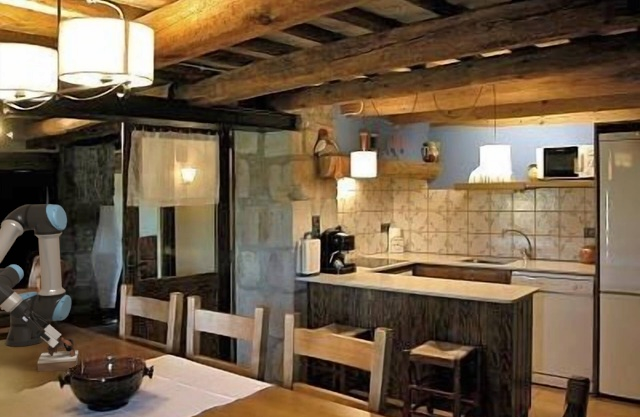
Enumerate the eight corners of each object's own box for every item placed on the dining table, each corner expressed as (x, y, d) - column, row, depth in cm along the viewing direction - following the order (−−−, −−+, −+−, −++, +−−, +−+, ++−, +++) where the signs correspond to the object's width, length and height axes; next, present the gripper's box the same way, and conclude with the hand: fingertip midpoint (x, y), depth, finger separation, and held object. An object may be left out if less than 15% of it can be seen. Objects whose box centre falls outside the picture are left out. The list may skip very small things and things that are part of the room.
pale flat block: (42, 362, 251) (42, 352, 251) (78, 359, 255) (78, 350, 255) (37, 372, 237) (37, 361, 237) (76, 368, 242) (76, 358, 242)
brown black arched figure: (71, 360, 241) (59, 343, 239) (52, 369, 243) (40, 353, 241) (84, 345, 253) (73, 329, 251) (65, 354, 254) (54, 338, 252)
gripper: (13, 307, 252) (53, 340, 257) (3, 319, 228) (47, 355, 233) (27, 294, 253) (66, 327, 258) (18, 304, 229) (61, 341, 235)
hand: (57, 341), depth 246 cm, fingers open, 13 cm apart
